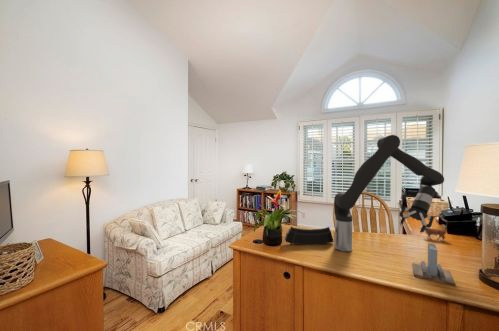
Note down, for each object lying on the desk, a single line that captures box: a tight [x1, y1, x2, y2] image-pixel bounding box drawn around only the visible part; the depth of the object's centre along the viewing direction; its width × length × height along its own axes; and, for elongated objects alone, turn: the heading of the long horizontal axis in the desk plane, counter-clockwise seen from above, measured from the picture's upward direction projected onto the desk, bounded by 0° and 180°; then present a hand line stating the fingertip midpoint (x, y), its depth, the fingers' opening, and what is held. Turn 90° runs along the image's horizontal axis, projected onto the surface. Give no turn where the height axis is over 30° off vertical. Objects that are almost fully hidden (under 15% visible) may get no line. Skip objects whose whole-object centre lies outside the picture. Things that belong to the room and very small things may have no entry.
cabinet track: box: [412, 260, 457, 287], centre depth 101 cm, size 14×13×3 cm
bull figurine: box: [419, 226, 447, 242], centre depth 146 cm, size 4×13×8 cm, turn 54°
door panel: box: [427, 242, 438, 277], centre depth 101 cm, size 2×8×12 cm, turn 146°
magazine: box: [284, 226, 334, 246], centre depth 138 cm, size 17×3×30 cm
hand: (411, 228), depth 117 cm, fingers open, 8 cm apart
